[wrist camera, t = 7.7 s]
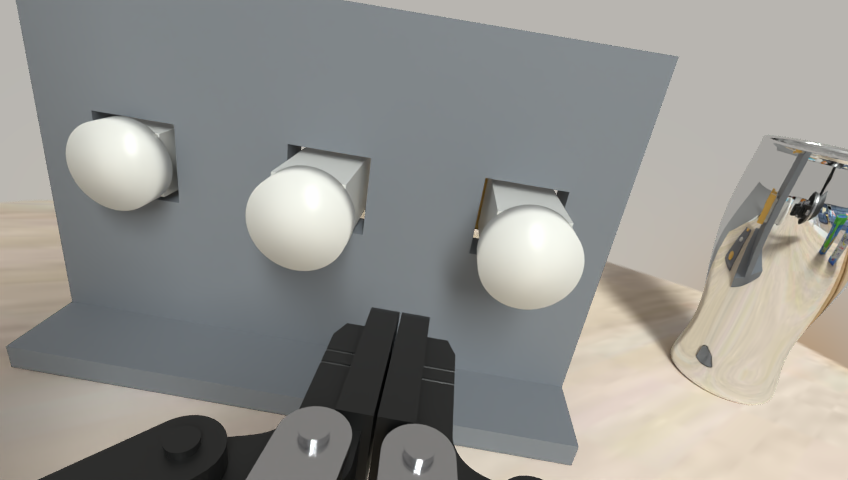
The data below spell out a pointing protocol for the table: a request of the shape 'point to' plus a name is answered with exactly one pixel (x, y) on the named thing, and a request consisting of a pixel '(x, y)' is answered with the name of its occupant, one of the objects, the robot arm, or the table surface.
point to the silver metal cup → (769, 269)
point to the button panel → (385, 206)
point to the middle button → (308, 208)
